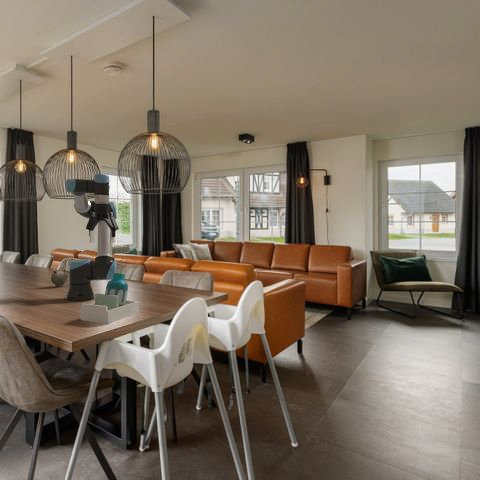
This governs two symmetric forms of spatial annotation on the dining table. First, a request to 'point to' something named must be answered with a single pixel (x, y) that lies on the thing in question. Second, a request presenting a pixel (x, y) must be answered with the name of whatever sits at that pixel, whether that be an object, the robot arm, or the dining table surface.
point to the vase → (118, 288)
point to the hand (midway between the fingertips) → (102, 243)
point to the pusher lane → (107, 312)
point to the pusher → (107, 300)
